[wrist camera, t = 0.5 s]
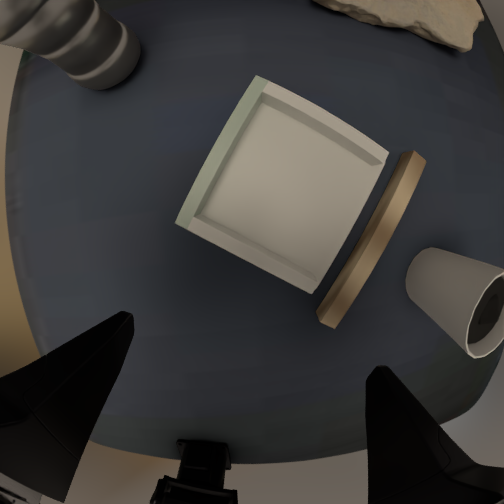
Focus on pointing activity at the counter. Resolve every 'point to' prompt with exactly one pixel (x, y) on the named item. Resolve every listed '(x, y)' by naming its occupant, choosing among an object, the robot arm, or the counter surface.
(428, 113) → the counter surface
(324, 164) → the tray
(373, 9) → the beige flat stone slab
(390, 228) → the oak rail
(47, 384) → the robot arm
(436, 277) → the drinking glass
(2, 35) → the plastic bottle
